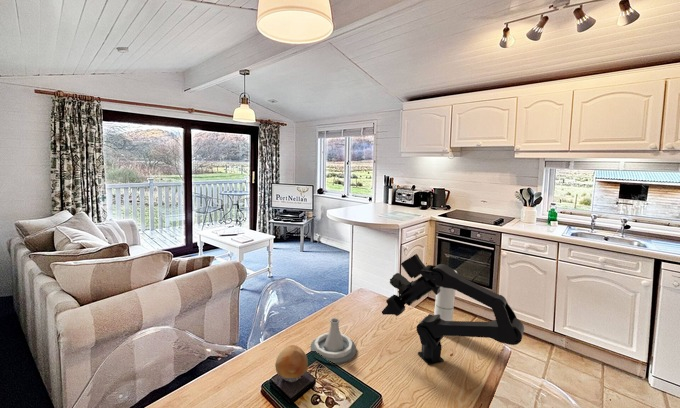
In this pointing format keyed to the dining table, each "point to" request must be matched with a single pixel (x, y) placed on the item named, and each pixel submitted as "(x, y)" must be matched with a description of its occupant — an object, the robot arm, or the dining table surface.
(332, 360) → the grey round shallow dish
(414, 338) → the dining table surface
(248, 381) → the dining table surface
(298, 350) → the onion
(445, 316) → the cylindrical container
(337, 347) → the flask
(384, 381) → the dining table surface
